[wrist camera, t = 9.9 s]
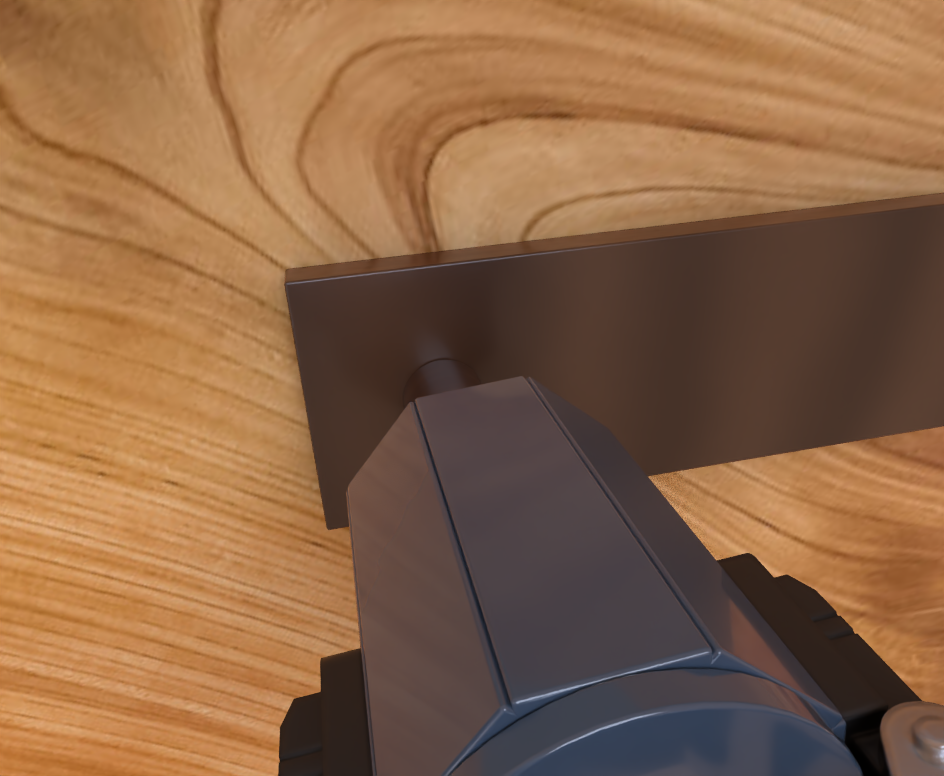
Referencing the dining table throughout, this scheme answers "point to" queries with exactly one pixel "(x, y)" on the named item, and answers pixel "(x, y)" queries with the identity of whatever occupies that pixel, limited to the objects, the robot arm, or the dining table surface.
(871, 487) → the dining table surface
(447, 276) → the cup stand
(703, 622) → the cup
